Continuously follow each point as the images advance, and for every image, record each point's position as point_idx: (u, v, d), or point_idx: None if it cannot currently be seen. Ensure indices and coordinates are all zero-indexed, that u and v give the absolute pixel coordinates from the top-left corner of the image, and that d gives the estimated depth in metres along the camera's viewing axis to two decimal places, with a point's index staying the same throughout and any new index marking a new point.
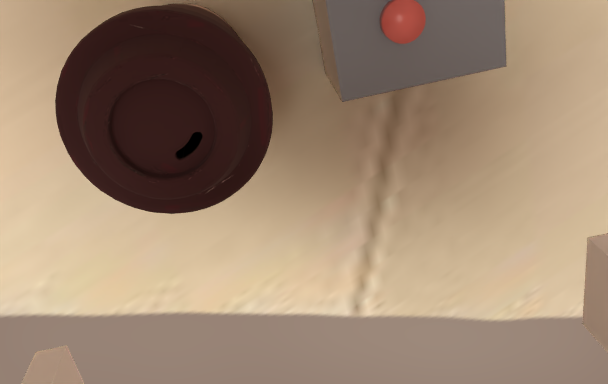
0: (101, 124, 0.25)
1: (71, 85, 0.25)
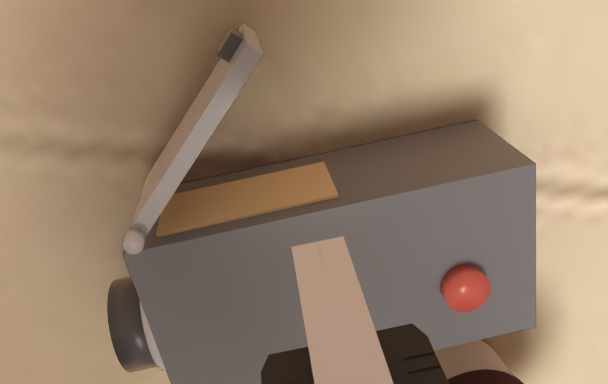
0: None
1: None
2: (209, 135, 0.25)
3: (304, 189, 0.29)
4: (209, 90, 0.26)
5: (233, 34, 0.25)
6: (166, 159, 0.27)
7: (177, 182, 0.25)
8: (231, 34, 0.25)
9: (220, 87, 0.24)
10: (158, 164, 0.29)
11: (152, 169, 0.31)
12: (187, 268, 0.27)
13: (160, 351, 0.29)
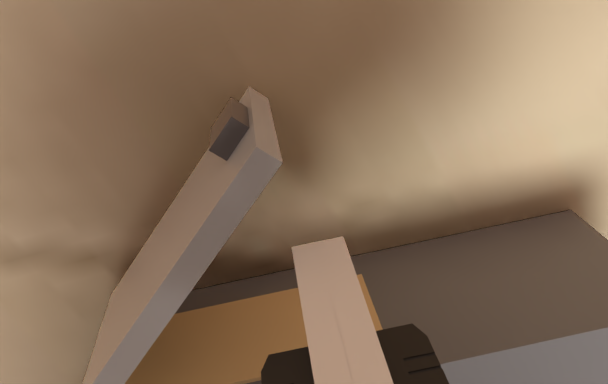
0: None
1: None
2: (194, 281, 0.16)
3: None
4: (197, 198, 0.17)
5: (234, 119, 0.16)
6: (133, 294, 0.18)
7: (145, 347, 0.16)
8: (231, 120, 0.16)
9: (212, 212, 0.15)
10: (125, 288, 0.20)
11: (118, 287, 0.22)
12: None
13: None
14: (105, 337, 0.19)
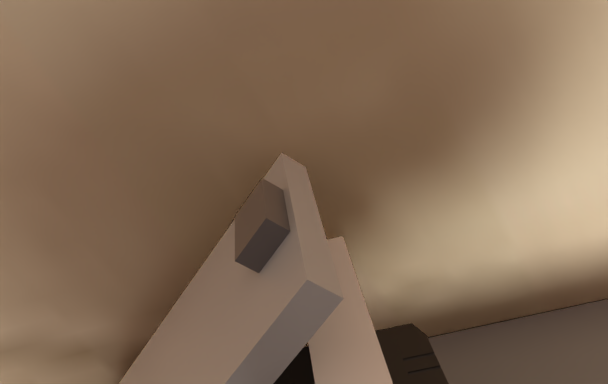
0: None
1: None
2: None
3: None
4: (218, 314, 0.13)
5: (270, 222, 0.12)
6: None
7: None
8: (266, 222, 0.12)
9: (242, 363, 0.11)
10: None
11: None
12: None
13: None
14: None
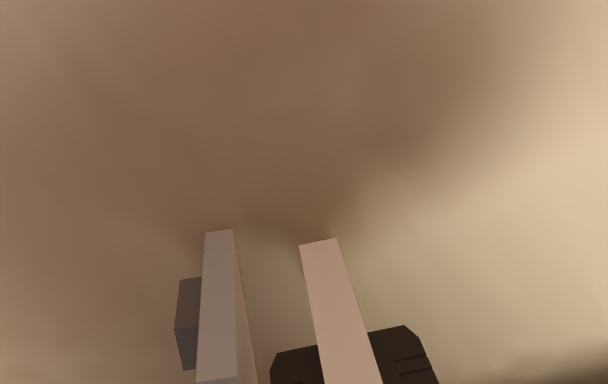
0: None
1: None
2: None
3: None
4: None
5: (180, 329, 0.13)
6: None
7: None
8: (177, 332, 0.13)
9: None
10: None
11: None
12: None
13: None
14: None
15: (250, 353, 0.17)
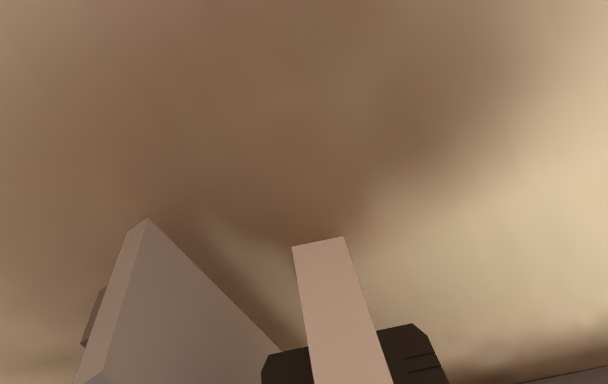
0: None
1: None
2: None
3: None
4: None
5: (85, 341, 0.12)
6: None
7: None
8: (84, 345, 0.12)
9: None
10: None
11: None
12: None
13: None
14: None
15: (228, 324, 0.16)
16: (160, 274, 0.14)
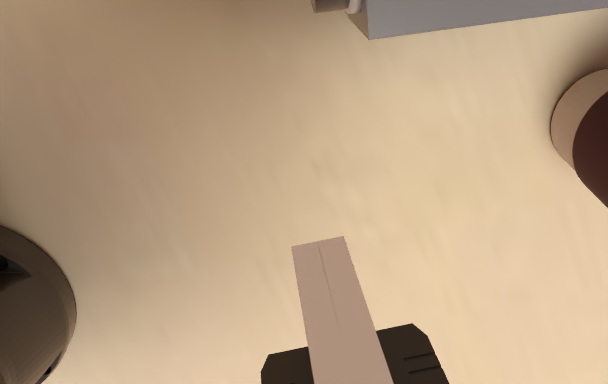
0: None
1: None
2: None
3: None
4: None
5: None
6: None
7: None
8: None
9: None
10: None
11: None
12: None
13: None
14: None
15: None
16: None
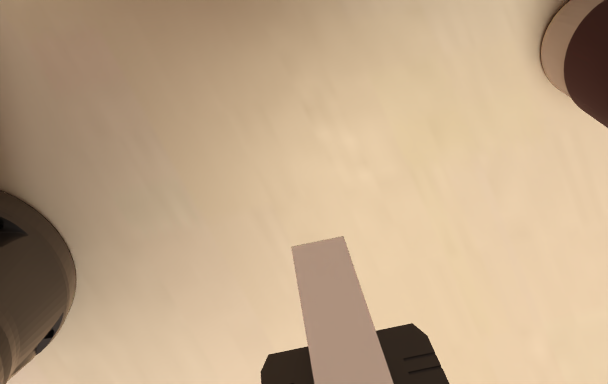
0: None
1: None
2: None
3: None
4: None
5: None
6: None
7: None
8: None
9: None
10: None
11: None
12: None
13: None
14: None
15: None
16: None
